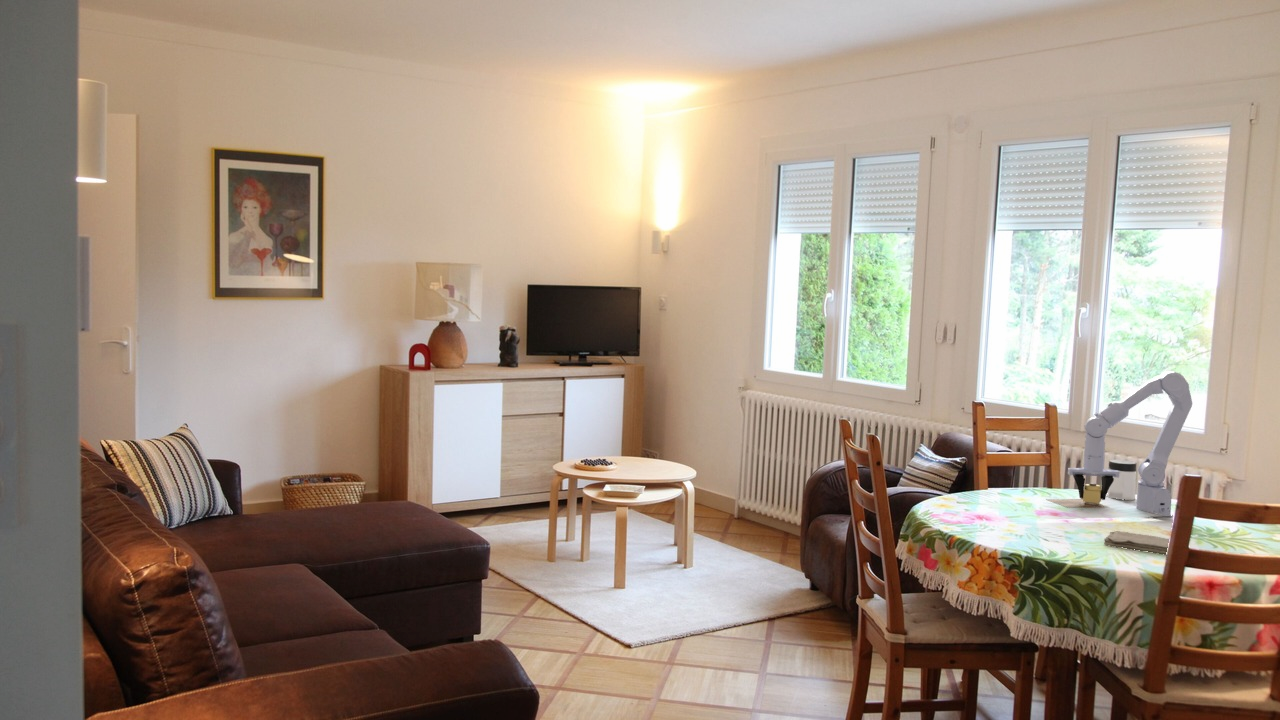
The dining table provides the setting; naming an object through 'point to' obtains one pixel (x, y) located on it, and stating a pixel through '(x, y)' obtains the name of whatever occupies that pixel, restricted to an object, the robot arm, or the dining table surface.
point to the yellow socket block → (1092, 493)
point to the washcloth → (1137, 542)
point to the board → (1074, 503)
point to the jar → (1123, 480)
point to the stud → (1091, 503)
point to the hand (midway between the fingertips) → (1092, 498)
